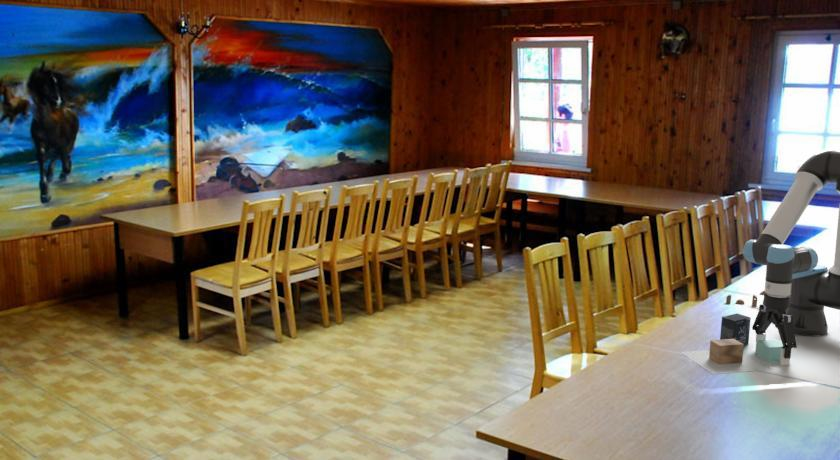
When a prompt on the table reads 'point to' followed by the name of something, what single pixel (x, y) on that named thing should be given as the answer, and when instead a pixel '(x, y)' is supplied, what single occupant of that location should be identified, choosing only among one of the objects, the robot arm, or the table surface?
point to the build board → (714, 368)
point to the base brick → (726, 351)
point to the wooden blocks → (754, 302)
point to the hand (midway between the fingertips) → (771, 360)
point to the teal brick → (769, 349)
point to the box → (735, 328)
